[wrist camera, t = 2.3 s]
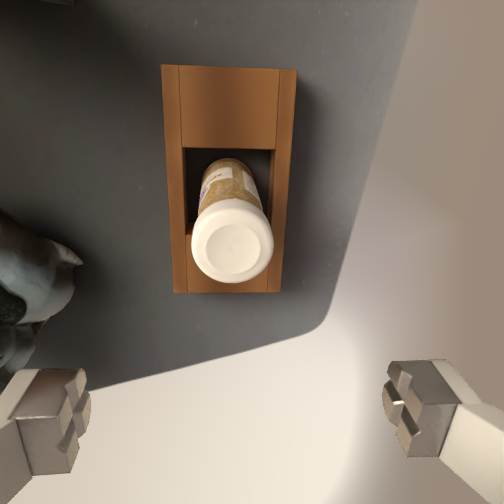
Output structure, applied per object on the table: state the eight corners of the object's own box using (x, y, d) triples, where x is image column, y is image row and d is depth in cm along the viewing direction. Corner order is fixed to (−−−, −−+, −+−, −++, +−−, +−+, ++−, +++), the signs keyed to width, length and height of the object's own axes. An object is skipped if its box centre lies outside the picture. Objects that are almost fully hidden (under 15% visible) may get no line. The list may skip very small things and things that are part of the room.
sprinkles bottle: (203, 154, 32) (192, 205, 20) (257, 160, 32) (280, 213, 20) (199, 207, 34) (188, 283, 22) (251, 211, 34) (269, 288, 22)
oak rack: (290, 69, 30) (297, 69, 27) (276, 276, 37) (280, 292, 34) (166, 65, 29) (160, 64, 26) (177, 277, 36) (173, 293, 34)
